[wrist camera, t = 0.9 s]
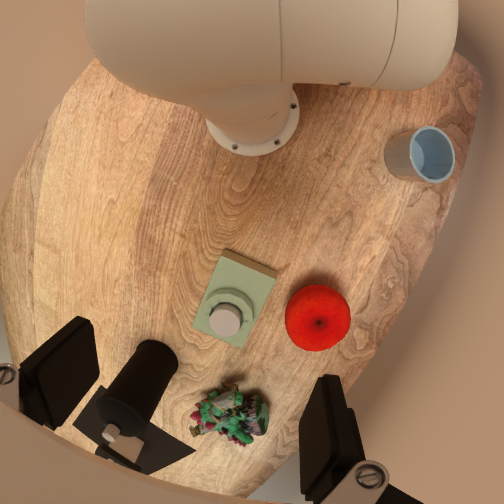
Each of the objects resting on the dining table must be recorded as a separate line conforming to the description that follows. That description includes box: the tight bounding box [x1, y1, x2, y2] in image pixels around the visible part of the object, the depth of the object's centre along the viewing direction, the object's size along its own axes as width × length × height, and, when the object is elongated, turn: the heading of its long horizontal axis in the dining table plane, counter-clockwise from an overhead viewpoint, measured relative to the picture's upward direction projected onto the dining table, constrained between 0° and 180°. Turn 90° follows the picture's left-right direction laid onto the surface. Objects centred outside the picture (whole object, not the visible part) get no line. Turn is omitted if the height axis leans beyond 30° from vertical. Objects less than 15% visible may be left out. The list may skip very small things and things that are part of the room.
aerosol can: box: [96, 340, 178, 442], centre depth 37 cm, size 8×8×20 cm
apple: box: [285, 284, 351, 351], centre depth 38 cm, size 9×9×8 cm
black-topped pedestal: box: [72, 386, 195, 475], centre depth 49 cm, size 28×26×13 cm
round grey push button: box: [209, 303, 242, 337], centre depth 37 cm, size 4×4×2 cm
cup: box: [384, 126, 455, 183], centre depth 31 cm, size 7×7×8 cm
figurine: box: [189, 383, 269, 447], centre depth 44 cm, size 12×13×15 cm
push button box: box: [192, 249, 277, 348], centre depth 40 cm, size 12×8×6 cm, turn 157°
